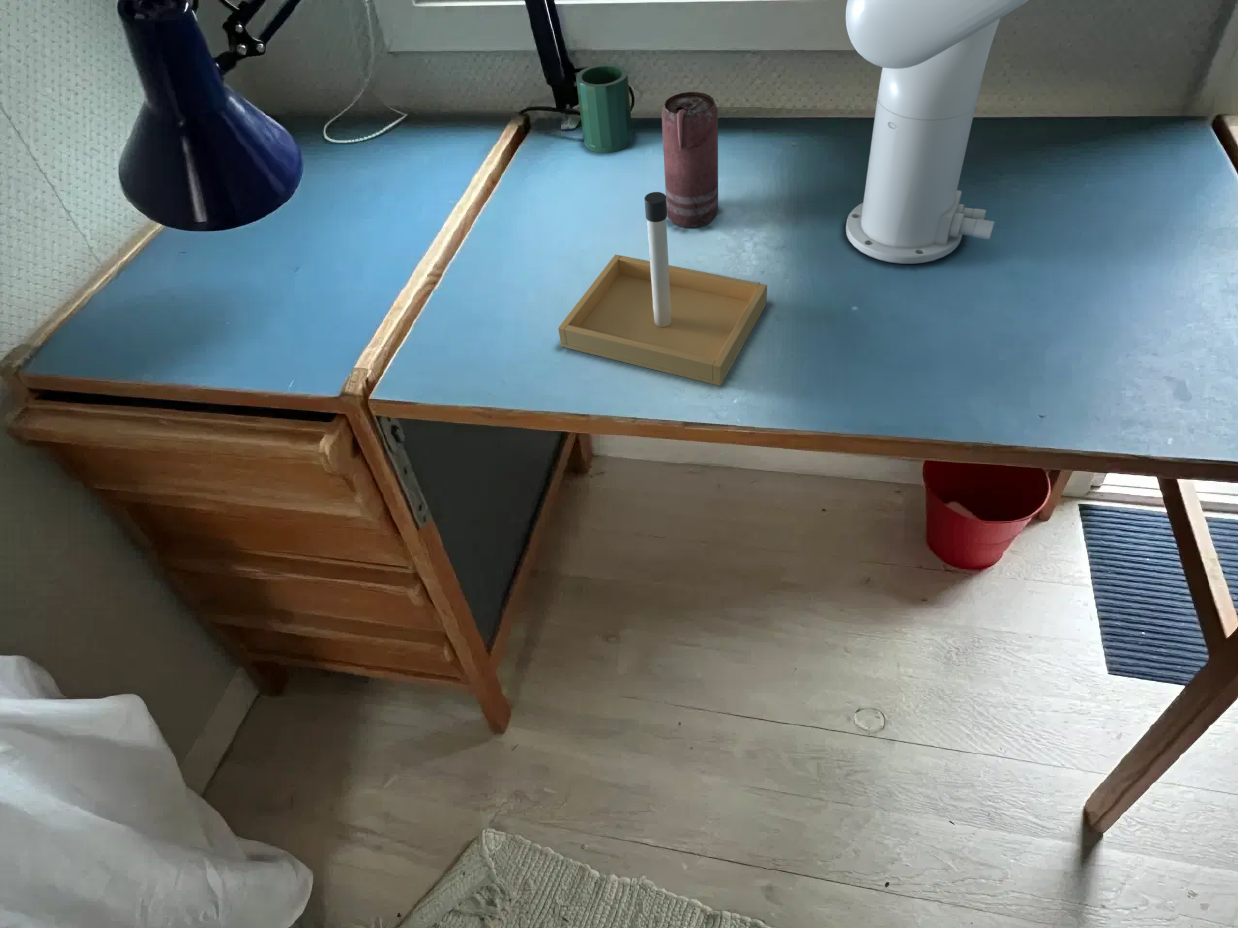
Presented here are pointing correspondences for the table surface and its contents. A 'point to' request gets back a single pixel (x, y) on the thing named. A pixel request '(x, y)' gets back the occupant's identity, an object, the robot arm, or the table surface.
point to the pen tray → (700, 320)
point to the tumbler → (605, 107)
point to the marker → (658, 257)
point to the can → (691, 159)
